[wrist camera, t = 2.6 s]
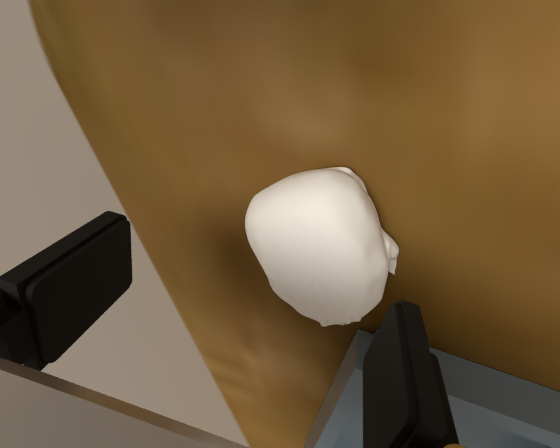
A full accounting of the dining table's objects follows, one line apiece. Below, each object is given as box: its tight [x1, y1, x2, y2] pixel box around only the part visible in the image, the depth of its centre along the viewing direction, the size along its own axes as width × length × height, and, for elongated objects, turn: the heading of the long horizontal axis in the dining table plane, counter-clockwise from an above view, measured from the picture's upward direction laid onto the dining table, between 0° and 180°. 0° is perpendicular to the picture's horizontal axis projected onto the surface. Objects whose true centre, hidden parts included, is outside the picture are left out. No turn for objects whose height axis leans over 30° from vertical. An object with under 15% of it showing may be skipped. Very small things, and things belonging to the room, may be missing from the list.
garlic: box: [245, 167, 399, 327], centre depth 15 cm, size 8×7×4 cm
